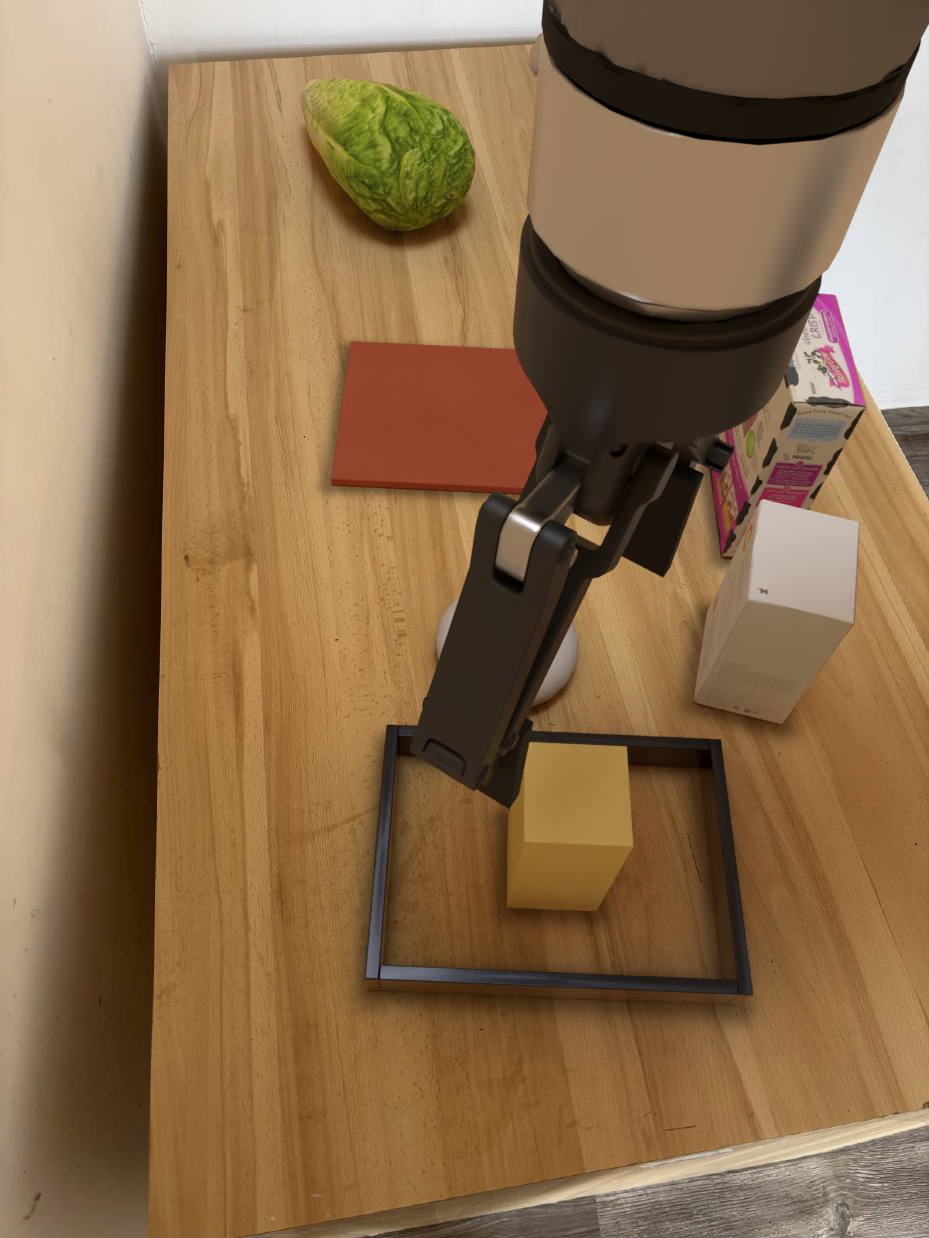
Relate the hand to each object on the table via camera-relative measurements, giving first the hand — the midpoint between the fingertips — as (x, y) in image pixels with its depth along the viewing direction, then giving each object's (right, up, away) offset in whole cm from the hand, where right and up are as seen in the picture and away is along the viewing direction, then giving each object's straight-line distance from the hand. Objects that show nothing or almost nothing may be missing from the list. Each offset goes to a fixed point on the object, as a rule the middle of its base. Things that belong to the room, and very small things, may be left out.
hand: (569, 663), depth 41 cm
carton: (+1, -13, +18) cm, 22 cm away
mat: (-5, +19, +38) cm, 43 cm away
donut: (-2, -1, +26) cm, 26 cm away
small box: (+15, -2, +26) cm, 30 cm away
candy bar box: (+18, +11, +34) cm, 40 cm away
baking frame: (+1, -13, +18) cm, 22 cm away
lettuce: (-14, +47, +56) cm, 74 cm away
